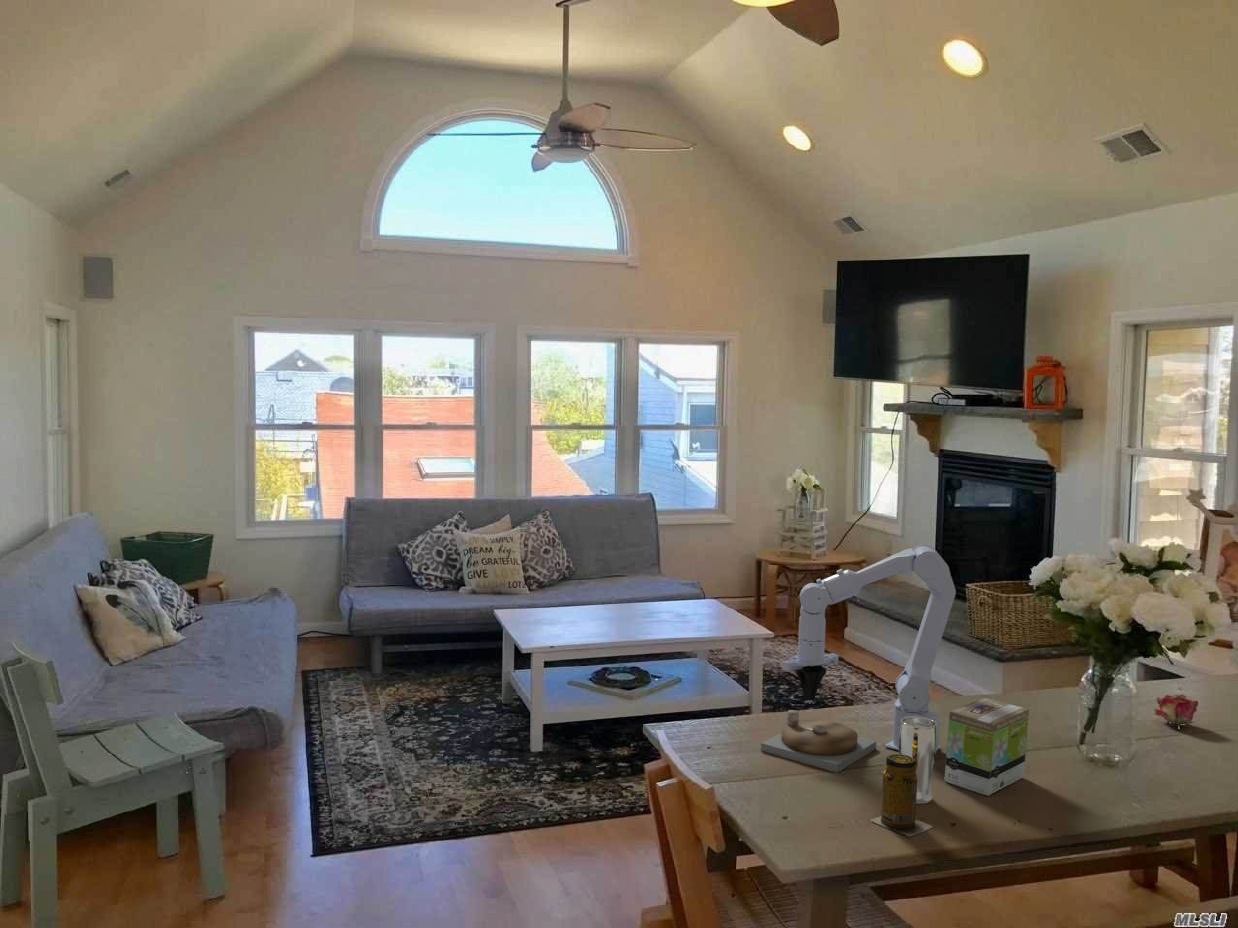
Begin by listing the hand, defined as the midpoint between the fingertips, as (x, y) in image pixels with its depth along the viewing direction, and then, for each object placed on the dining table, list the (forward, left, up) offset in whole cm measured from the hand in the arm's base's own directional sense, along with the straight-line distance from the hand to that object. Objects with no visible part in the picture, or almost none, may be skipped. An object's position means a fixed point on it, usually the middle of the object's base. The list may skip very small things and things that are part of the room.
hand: (809, 698), depth 228 cm
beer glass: (-31, +14, -9) cm, 35 cm away
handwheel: (-5, +4, -7) cm, 10 cm away
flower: (-60, -68, -9) cm, 91 cm away
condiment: (-34, +27, -9) cm, 45 cm away
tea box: (-38, -4, -9) cm, 39 cm away
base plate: (-5, +4, -9) cm, 11 cm away
